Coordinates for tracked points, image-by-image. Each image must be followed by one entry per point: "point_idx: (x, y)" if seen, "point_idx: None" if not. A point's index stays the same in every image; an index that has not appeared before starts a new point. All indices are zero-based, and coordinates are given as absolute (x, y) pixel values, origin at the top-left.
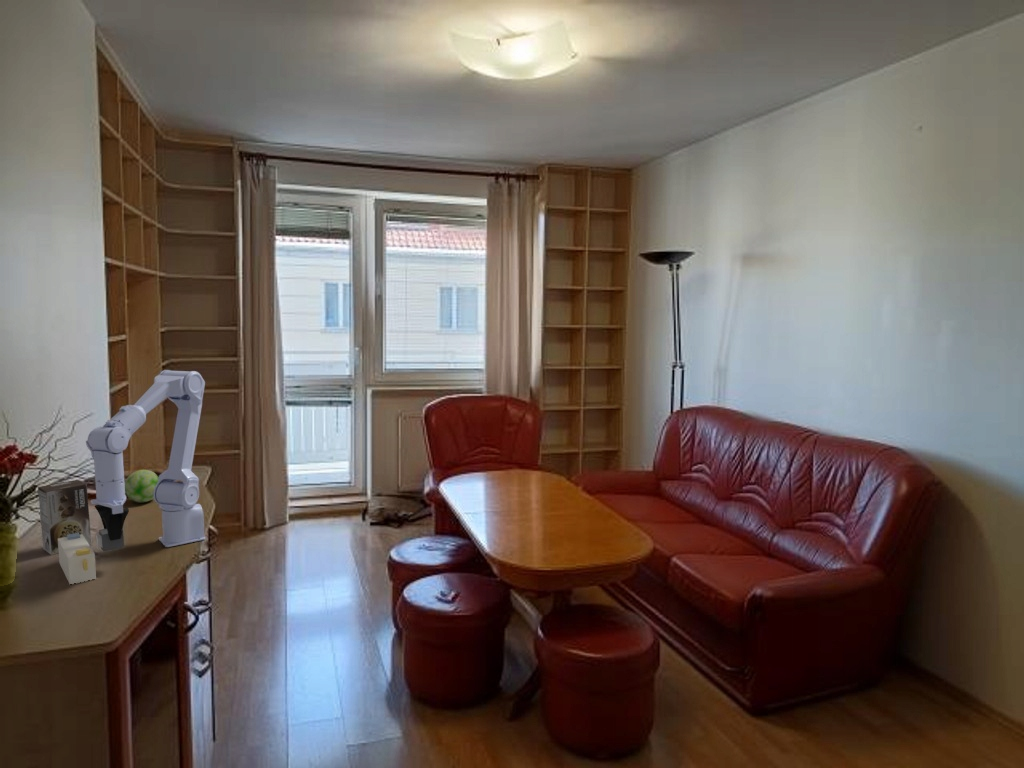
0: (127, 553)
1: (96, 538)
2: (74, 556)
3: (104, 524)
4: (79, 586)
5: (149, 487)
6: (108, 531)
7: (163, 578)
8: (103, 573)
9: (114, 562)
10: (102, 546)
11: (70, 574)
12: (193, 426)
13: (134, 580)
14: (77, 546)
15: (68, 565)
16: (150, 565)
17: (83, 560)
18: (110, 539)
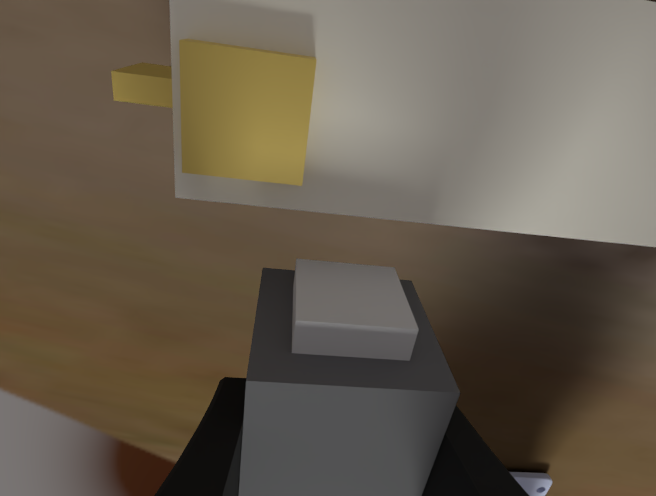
0: (499, 353)
1: (379, 308)
2: (196, 6)
3: (467, 485)
4: (150, 6)
5: None
6: (181, 458)
7: (15, 371)
8: None
9: (425, 279)
10: (292, 291)
11: None
12: None
13: (64, 276)
14: (514, 134)
15: None
16: (244, 377)
17: (163, 81)
18: (218, 385)
